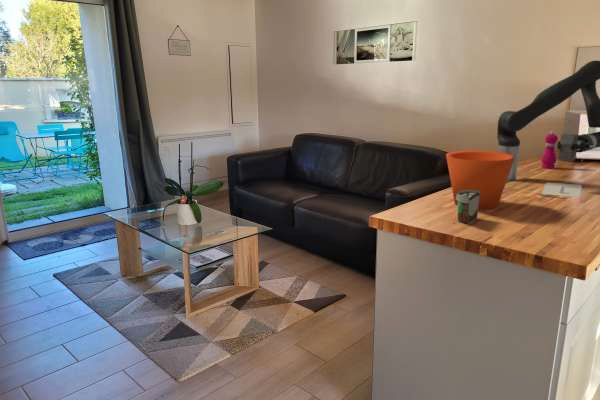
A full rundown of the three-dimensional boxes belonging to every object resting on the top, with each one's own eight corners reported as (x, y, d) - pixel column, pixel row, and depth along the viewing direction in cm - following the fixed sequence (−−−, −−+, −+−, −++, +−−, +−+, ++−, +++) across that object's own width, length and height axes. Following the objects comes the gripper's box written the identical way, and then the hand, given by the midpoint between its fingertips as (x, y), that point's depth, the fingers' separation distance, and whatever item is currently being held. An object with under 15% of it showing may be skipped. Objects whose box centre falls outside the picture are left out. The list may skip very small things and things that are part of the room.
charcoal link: (569, 161, 184) (573, 135, 181) (558, 160, 187) (561, 134, 184) (574, 160, 186) (578, 134, 183) (563, 159, 190) (566, 133, 187)
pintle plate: (580, 200, 177) (581, 190, 176) (540, 196, 185) (542, 186, 184) (581, 187, 197) (582, 178, 196) (546, 184, 204) (547, 175, 203)
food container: (461, 214, 163) (463, 188, 161) (478, 217, 160) (480, 190, 157) (448, 222, 154) (450, 195, 152) (466, 226, 150) (468, 197, 148)
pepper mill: (537, 167, 243) (541, 131, 238) (546, 166, 246) (550, 130, 241) (549, 169, 237) (554, 132, 232) (558, 168, 240) (563, 131, 235)
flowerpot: (489, 217, 159) (494, 163, 154) (430, 204, 178) (433, 155, 173) (521, 204, 174) (527, 154, 169) (464, 193, 193) (467, 148, 188)
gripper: (567, 133, 198) (548, 136, 188) (603, 135, 186) (585, 139, 177) (565, 149, 200) (546, 154, 190) (600, 153, 188) (582, 158, 179)
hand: (565, 147), depth 184 cm, fingers closed on charcoal link, 4 cm apart
